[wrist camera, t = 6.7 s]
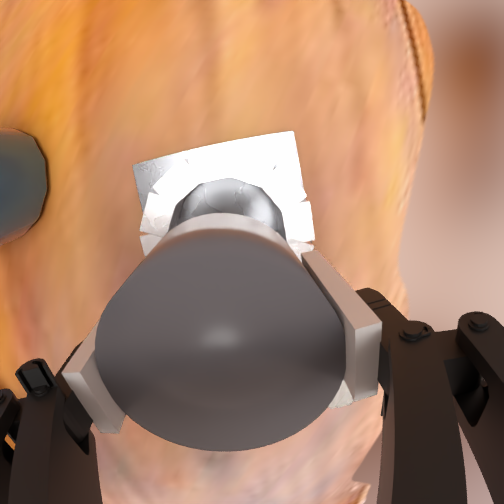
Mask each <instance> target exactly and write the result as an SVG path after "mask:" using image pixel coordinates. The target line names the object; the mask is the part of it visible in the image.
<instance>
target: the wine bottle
mask: <svg viewBox="0 0 504 504" xmlns="http://www.w3.org/2000/svg"><path fill="white" fill-rule="evenodd" d="M47 190H48V187H47V174H46V160H45V159H44V157H43V155H42V153H41V151H40V149H39V147H38V145H37V143H36V141H35V139H34V138H33V137H32V136H30V135H27V134H25V133H23V132H21V131H19V130H17V129H14V128H0V246H1V245H3V244H5V243H8V242H10V241H12V240H14V239H16V238H19V237H21V236H23V235H24V234H25V233H26V232H27V230H28V229H29V228H30V227H31V226H32V225H33V224H34V223H35V221H36V220H37V219H38V218H39V216H40V214H41V211H42V207H43V203H44V200H45V196H46V193H47Z"/></svg>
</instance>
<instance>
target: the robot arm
mask: <svg viewBox="0 0 504 504" xmlns="http://www.w3.org/2000/svg"><path fill="white" fill-rule="evenodd" d="M301 260H302V264H303V266H304V267H305V268H306V270H307V271H308V273H309V274H310V276H311V277H312V279H313V280H314V281H315V283H316V284H317V286H318V287H319V289H320V290H321V292H322V293H323V295H324V296H325V297H326V299H327V300H328V302H329V303H330V305H331V306H332V308H333V309H334V311H335V312H336V314H337V316H338V318H339V320H340V322H341V324H342V326H343V330H344V333H345V341H346V371H345V375H344V381H345V383H346V385H347V387H348V389H349V391H350V393H351V395H352V398H353V400H354V402H355V401H358V400H361V399H365V398H368V397H371V396H374V395H377V391H378V381H379V383H380V385H381V386H382V388H383V390H384V396H383V403H382V410H381V416H383V430H382V452H381V467H380V478H379V488H378V497H377V504H467V490H466V478H465V467H464V459H463V452H462V444H461V438H460V432H459V426H458V423H459V425H460V427H461V428H462V431H463V433H464V435H465V437H466V439H467V441H468V443H469V446H470V448H471V450H472V452H473V454H474V456H475V459H476V461H477V463H478V465H479V468H480V470H481V472H482V475H483V477H484V479H485V482H486V484H487V487H488V489H489V492H490V495H491V497H492V500H493V502H494V504H504V327H503V326H502V325H501V324H500V323H499V322H498V321H497V320H496V319H495V318H494V317H492V316H491V315H489V314H486V313H483V312H470V313H466V314H464V315H462V316H461V317H460V319H459V321H458V327H457V329H456V330H448V331H441V332H434V330H433V329H432V327H431V326H429V325H427V324H426V323H424V322H420V321H408V320H407V319H406V318H405V317H404V316H403V315H402V314H401V313H400V312H399V311H398V310H397V309H396V308H395V307H394V306H393V305H391V303H390V302H389V301H388V300H386V298H385V297H384V296H383V295H382V294H381V293H379V292H378V291H375V290H373V289H370V288H364V289H361V290H357V291H354V290H353V288H352V287H351V286H350V285H349V284H348V283H347V282H346V281H345V280H344V279H343V277H342V276H341V275H340V274H339V273H338V272H337V271H336V270H335V269H334V268H333V267H332V265H331V264H330V263H329V262H328V261H327V260H326V259H325V258H324V257H323V256H322V255H321V254H320V253H319V251H318V250H313V251H308V252H303V253H301ZM99 321H100V319H99ZM99 321H98V322H97V323H96V325H95V326H94V327H93V329H92V330H91V332H90V333H89V334H88V336H87V337H86V338H85V340H84V341H82V342H81V343H80V344H79V345H77V346H76V347H75V349H74V350H73V351H72V353H71V354H70V355H71V356H69V357H68V358H67V360H66V362H65V363H64V364H63V365H62V367H61V368H60V370H59V371H58V373H57V374H56V376H55V377H54V375H53V374H52V372H51V370H50V368H49V367H48V365H47V363H46V361H45V360H44V359H40V358H38V359H33V360H30V361H28V362H26V363H25V364H23V365H22V366H21V367H20V368H19V369H18V370H17V371H16V373H15V375H16V377H17V378H18V380H19V381H20V383H21V385H22V386H23V388H24V389H25V391H26V392H27V397H26V398H21V399H17V398H16V396H15V395H14V393H13V392H12V391H11V390H10V389H1V390H0V504H103V503H102V496H101V490H100V483H99V475H98V466H97V456H96V443H95V437H94V435H93V433H92V432H91V431H90V427H91V424H92V422H93V423H94V424H95V425H96V427H97V428H98V430H99V431H100V432H101V433H117V434H119V432H120V429H121V426H122V423H123V420H124V417H125V415H126V413H124V412H123V411H122V409H121V408H120V407H119V406H118V405H117V404H116V403H115V401H114V400H113V399H112V397H111V395H110V394H109V392H108V390H107V388H106V387H105V385H104V383H103V381H102V379H101V377H100V374H99V371H98V367H97V363H96V357H95V337H96V331H97V327H98V324H99ZM7 434H8V436H9V437H10V438H11V439H12V440H13V442H14V443H15V444H16V445H15V450H13V449H12V448H11V447H10V446H9V445H8V443H7V442H6V441H5V440H4V439H5V437H6V435H7Z"/></svg>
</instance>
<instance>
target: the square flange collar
mask: <svg viewBox="0 0 504 504" xmlns="http://www.w3.org/2000/svg"><path fill="white" fill-rule="evenodd" d="M132 166H133V171H134V176H135V181H136V185H137V190H138V194H139V198H140V203H141V207H142V211H143V218H142V222H141V226H140V231H143V232H144V233H143V234H142V235H141V236H140V241H141V244H142V248H143V251H144V255H145V257H146V256H147V255H148V254H149V253H150V251H151V250H152V249H153V248H154V247H155V246H156V245H157V243H158V242H159V241H160V240H161V239H162V238H163V237H164V236H165V235H166V234H167V233H168V232H169V231H170V230H172V229H173V228H174V227H176V226H178V225H179V224H181V223H182V222H185V221H187V220H189V219H191V218H194V217H198V216H201V215H205V214H212V213H232V214H239V215H243V216H247V217H250V218H253V219H255V220H258V221H260V222H262V223H264V224H265V225H267V226H269V227H271V228H272V229H273V230H274V231H276V232H277V233H278V234H279V235H280V236H281V237H282V238H283V239H284V240H285V241H286V242H287V243H288V244H289V246H290V247H291V249H292V250H293V251H294V253H295V254H296V256H297V257H298V258H299V260H300V261H301V263H302V260H301V253H303V252H308V251H313V248H314V245H313V244H312V240H315V235H314V228H313V221H312V214H311V207H310V201H308V200H305V197H306V196H307V195H306V194H305V192H304V188H303V182H302V176H301V170H300V164H299V159H298V153H297V148H296V142H295V137H294V132H293V131H287V132H280V133H274V134H268V135H261V136H256V137H250V138H244V139H239V140H234V141H229V142H224V143H219V144H214V145H209V146H205V147H200V148H196V149H191V150H187V151H183V152H179V153H175V154H171V155H167V156H163V157H160V158H156V159H152V160H149V161H145V162H141V163H138V164H135V165H132Z"/></svg>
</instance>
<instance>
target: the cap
mask: <svg viewBox="0 0 504 504" xmlns="http://www.w3.org/2000/svg"><path fill="white" fill-rule="evenodd" d="M95 357H96V363H97V367H98V371H99V374H100V377H101V379H102V381H103V383H104V385H105V387H106V388H107V390H108V392H109V394H110V395H111V397H112V399H113V400H114V401H115V403H116V404H117V405H118V406H119V407H120V408H121V409H122V411H123V412H124V413H126V414H127V415H128V416H129V417H130V418H131V419H132V420H133V421H135V422H136V423H137V424H139V425H140V426H141V427H143V428H144V429H146V430H148V431H149V432H151V433H153V434H155V435H157V436H159V437H161V438H163V439H165V440H168V441H170V442H173V443H176V444H179V445H182V446H186V447H190V448H195V449H200V450H207V451H242V450H249V449H255V448H260V447H263V446H267V445H270V444H273V443H276V442H278V441H281V440H284V439H286V438H288V437H290V436H292V435H294V434H296V433H297V432H299V431H300V430H302V429H304V428H305V427H307V426H308V425H309V424H310V423H312V422H313V421H314V420H315V419H317V418H318V417H319V416H320V415H321V414H322V413H323V412H324V411H325V410H326V408H327V407H328V406H329V404H330V403H331V402H332V400H333V399H334V397H335V396H336V394H337V392H338V390H339V389H340V386H341V384H342V381H343V379H344V375H345V371H346V341H345V333H344V330H343V326H342V324H341V322H340V320H339V318H338V316H337V314H336V312H335V311H334V309H333V308H332V306H331V305H330V303H329V302H328V300H327V299H326V297H325V296H324V295H323V293H322V292H321V290H320V289H319V287H318V286H317V284H316V283H315V281H314V280H313V279H312V277H311V276H310V274H309V273H308V271H307V270H306V268H305V267H304V266H303V264H302V263H301V261H300V260H299V258H298V257H297V256H296V254H295V253H294V251H293V250H292V249H291V247H290V246H289V244H288V243H287V242H286V241H285V240H284V239H283V238H282V237H281V236H280V235H279V234H278V233H277V232H276V231H274V230H273V229H272V228H271V227H269V226H267V225H265V224H264V223H262V222H260V221H258V220H255V219H253V218H250V217H247V216H243V215H239V214H232V213H212V214H205V215H201V216H198V217H194V218H191V219H189V220H187V221H185V222H182V223H181V224H179V225H178V226H176V227H174V228H173V229H172V230H170V231H169V232H168V233H167V234H166V235H165V236H164V237H163V238H162V239H161V240H160V241H159V242H158V243H157V245H156V246H155V247H154V248H153V249H152V250H151V251H150V253H149V254H148V255H147V256H146V257H145V258H144V260H143V261H142V262H141V263H140V264H139V266H138V267H137V268H136V269H135V270H134V272H133V273H132V274H131V275H130V276H129V278H128V279H127V280H126V281H125V282H124V284H123V285H122V286H121V287H120V289H119V290H118V291H117V292H116V294H115V295H114V296H113V297H112V299H111V300H110V301H109V303H108V304H107V306H106V308H105V310H104V311H103V313H102V315H101V318H100V321H99V324H98V327H97V331H96V337H95Z"/></svg>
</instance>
